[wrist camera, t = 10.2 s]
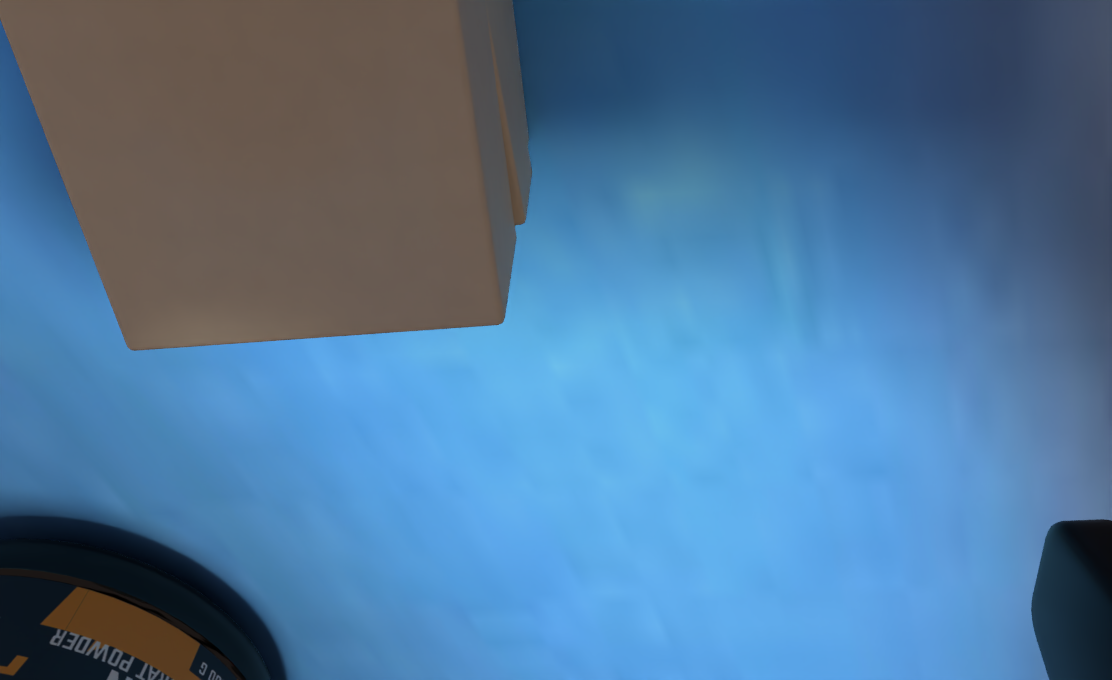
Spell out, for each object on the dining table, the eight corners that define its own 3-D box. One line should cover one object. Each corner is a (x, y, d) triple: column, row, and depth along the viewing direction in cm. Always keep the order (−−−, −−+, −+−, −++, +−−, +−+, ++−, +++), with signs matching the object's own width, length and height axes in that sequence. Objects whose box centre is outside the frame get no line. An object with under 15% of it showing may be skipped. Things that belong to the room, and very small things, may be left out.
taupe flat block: (14, -273, 11) (-119, -276, 9) (442, -326, 11) (407, -343, 9) (193, 266, 15) (126, 353, 13) (517, 241, 14) (505, 327, 12)
